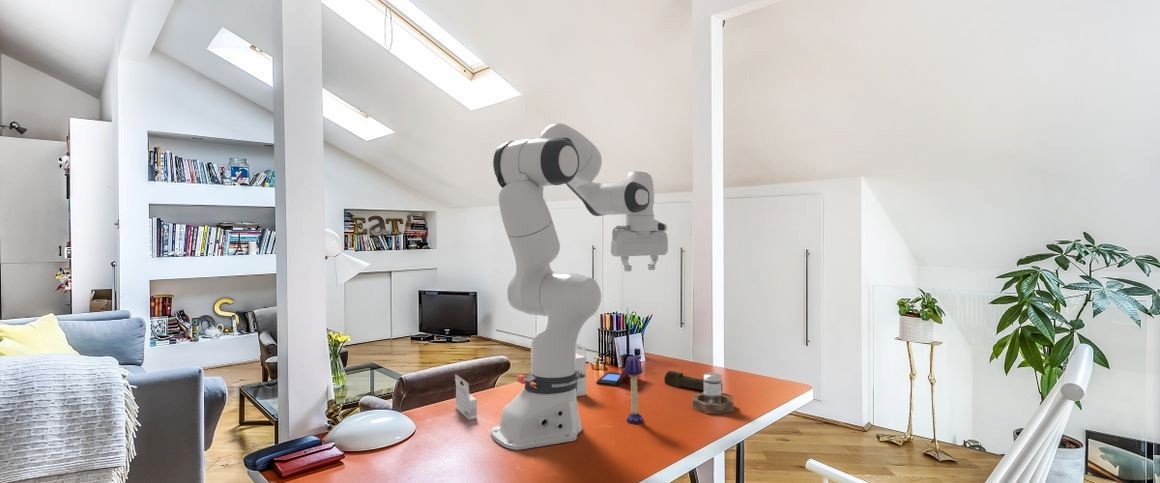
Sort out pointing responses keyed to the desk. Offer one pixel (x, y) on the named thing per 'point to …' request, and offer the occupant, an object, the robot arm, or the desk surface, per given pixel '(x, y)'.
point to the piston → (712, 388)
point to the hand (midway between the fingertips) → (639, 270)
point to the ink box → (580, 369)
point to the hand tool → (684, 381)
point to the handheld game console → (612, 378)
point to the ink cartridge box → (465, 399)
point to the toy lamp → (634, 388)
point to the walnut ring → (712, 404)
